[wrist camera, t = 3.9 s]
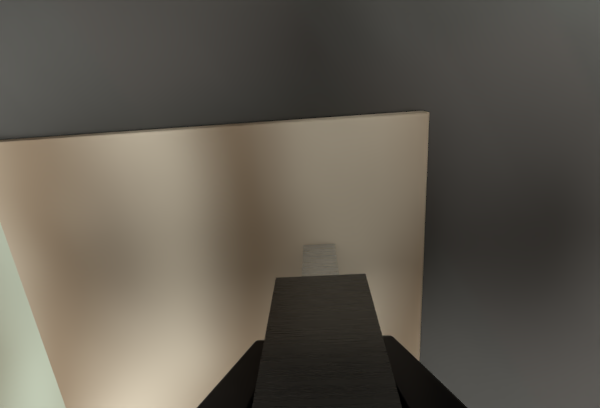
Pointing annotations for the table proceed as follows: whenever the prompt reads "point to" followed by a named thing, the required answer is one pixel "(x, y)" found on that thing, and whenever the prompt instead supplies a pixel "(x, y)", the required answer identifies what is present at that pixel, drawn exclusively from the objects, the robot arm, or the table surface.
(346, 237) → the pale gradient board
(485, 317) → the table surface
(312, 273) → the brushed metal angle bracket
